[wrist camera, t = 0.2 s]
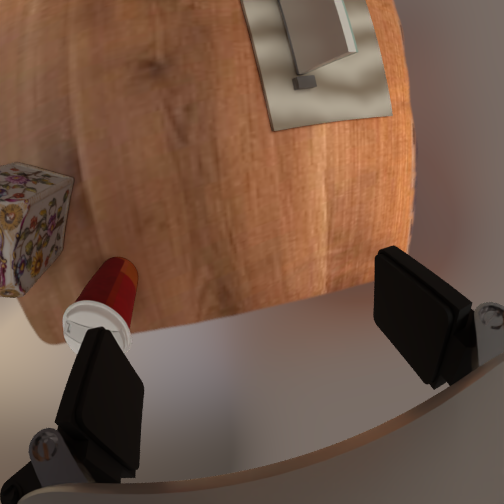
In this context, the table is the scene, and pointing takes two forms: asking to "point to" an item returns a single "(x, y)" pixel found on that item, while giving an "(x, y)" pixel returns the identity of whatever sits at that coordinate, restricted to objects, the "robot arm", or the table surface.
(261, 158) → the table surface
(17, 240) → the decorative jar
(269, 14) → the tile board
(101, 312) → the coffee cup
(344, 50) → the glazed tile
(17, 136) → the table surface
